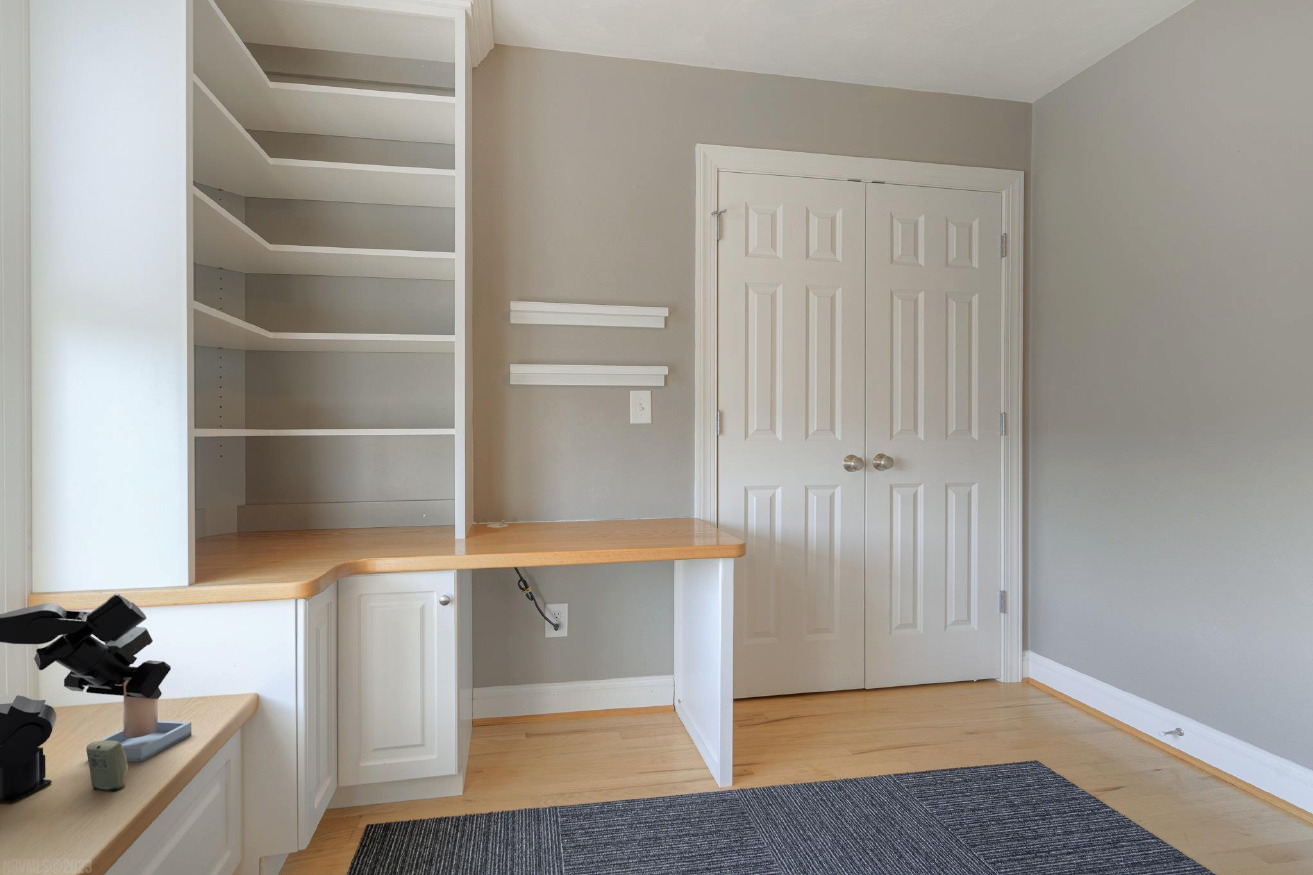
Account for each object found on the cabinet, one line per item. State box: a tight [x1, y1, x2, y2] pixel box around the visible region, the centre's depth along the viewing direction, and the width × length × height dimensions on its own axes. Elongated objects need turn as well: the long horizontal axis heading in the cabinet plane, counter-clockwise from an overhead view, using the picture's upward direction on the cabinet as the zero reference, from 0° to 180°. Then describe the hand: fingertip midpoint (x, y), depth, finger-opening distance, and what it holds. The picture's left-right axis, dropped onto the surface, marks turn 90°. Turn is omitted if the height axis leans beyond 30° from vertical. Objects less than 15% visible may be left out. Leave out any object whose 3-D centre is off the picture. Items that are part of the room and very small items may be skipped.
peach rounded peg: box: [122, 680, 159, 738], centre depth 125 cm, size 5×5×11 cm
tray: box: [98, 720, 192, 763], centre depth 125 cm, size 11×11×2 cm
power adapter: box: [86, 740, 129, 792], centre depth 110 cm, size 6×5×8 cm
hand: (148, 695), depth 126 cm, fingers closed on peach rounded peg, 5 cm apart
